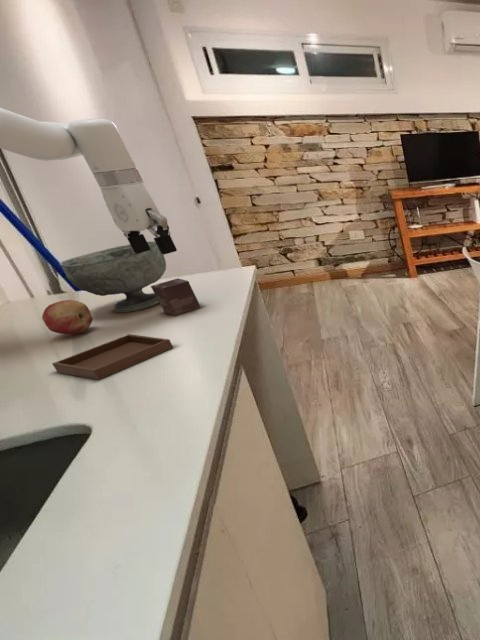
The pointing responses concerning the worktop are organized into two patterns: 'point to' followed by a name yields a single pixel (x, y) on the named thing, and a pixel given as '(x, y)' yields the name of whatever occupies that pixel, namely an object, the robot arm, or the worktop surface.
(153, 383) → the worktop surface
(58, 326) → the fruit
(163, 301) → the box
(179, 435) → the worktop surface
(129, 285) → the bowl
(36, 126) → the robot arm
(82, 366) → the desk tray
